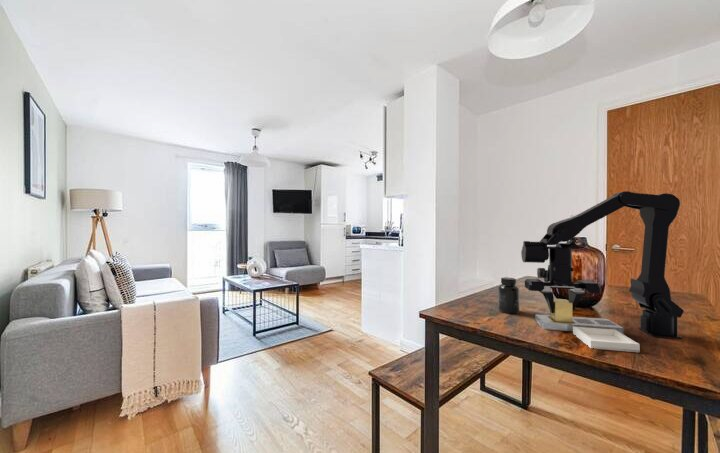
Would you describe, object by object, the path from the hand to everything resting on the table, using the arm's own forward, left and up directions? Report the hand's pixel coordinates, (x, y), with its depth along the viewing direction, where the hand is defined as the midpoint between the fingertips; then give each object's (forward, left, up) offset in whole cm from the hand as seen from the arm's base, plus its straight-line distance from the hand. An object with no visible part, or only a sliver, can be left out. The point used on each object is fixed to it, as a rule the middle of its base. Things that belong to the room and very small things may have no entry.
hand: (560, 313), depth 89 cm
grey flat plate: (-4, 0, -4) cm, 6 cm away
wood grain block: (0, 0, -3) cm, 3 cm away
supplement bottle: (+12, -13, -4) cm, 18 cm away
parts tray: (-6, +11, -4) cm, 13 cm away
